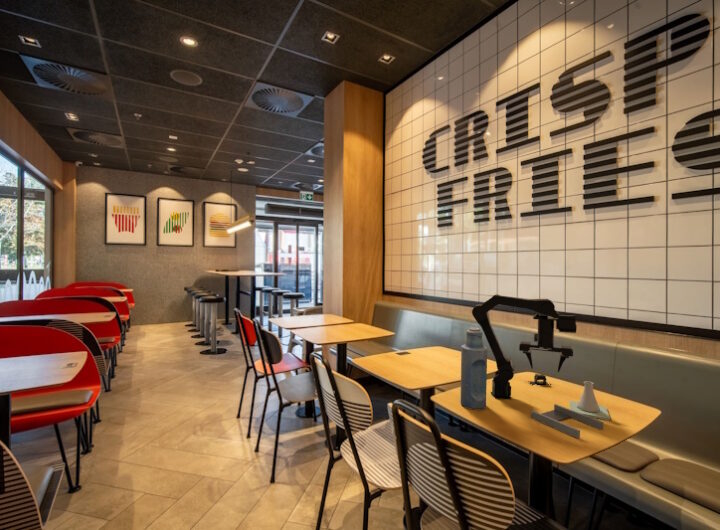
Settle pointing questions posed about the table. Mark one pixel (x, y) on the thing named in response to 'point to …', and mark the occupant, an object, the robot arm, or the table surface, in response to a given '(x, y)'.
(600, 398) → the table surface
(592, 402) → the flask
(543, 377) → the black arched bracket
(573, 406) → the pad
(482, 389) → the bottle
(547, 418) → the trough
